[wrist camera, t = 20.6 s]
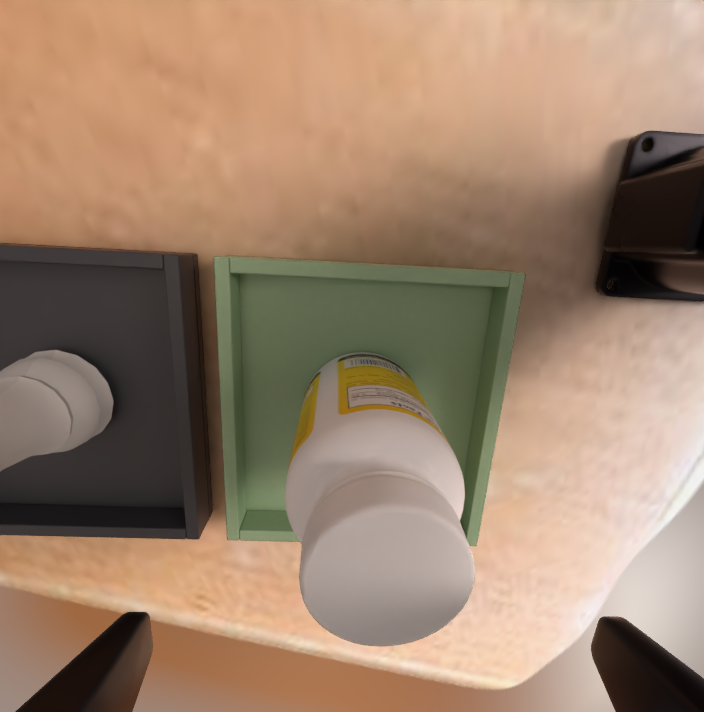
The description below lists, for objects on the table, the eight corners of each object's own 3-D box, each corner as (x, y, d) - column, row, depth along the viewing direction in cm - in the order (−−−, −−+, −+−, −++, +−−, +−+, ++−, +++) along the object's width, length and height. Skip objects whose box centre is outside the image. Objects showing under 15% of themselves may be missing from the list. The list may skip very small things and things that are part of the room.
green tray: (504, 270, 17) (526, 273, 15) (464, 518, 20) (476, 546, 18) (228, 255, 16) (212, 256, 14) (237, 512, 20) (226, 540, 18)
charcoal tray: (197, 253, 16) (178, 254, 14) (213, 511, 20) (199, 540, 18) (-99, 237, 16) (-162, 236, 14) (-27, 505, 19) (-68, 534, 17)
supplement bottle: (341, 472, 19) (342, 701, 9) (282, 385, 17) (211, 550, 8) (437, 421, 18) (543, 612, 9) (384, 327, 17) (440, 430, 7)
